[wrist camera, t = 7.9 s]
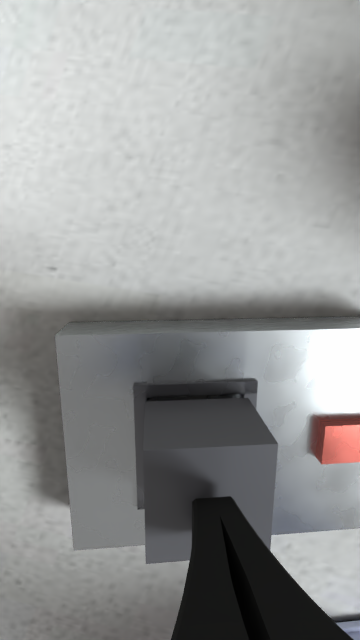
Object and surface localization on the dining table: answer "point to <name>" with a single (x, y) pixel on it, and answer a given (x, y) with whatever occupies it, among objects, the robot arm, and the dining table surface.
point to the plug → (204, 469)
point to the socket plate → (211, 383)
